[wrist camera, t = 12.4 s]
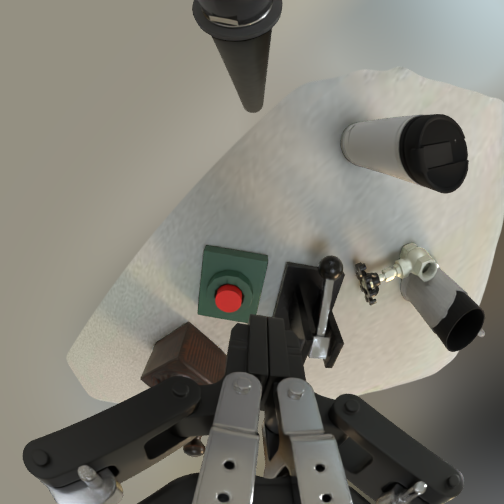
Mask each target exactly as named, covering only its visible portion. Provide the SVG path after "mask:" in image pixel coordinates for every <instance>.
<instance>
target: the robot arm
mask: <svg viewBox="0 0 504 504" xmlns="http://www.w3.org/2000/svg"><path fill="white" fill-rule="evenodd" d="M198 2H199V4H200V6H201V10H202V12H203V14H204V16H205V18H206V19H207V20H208V21H209V22H211V23H212V24H214V25H216V26H219V27H222V28H228V29H241V28H246V27H250V26H253V25H255V24H258V23H259V22H261V21H262V20H264V19H265V18H266V17H267V16H268V15H269V13H270V11H271V9H272V5H273V0H198ZM260 410H261V411H265V418H264V421H263V423H262V433H263V445H264V455H265V469H264V475H263V477H260V476H256V466H257V456H258V448H259V434H258V421H259V412H260ZM203 435H209V437H208V442H207V446H206V449H205V453H204V457H203V461H202V465H201V469H200V473H193V474H189V475H185V476H182V477H179V478H177V479H175V480H173V481H171V482H170V483H168V484H167V485H165V486H164V487H162V488H161V489H159V490H158V491H156V492H155V493H153V494H152V495H150V496H149V497H147V498H146V499H144V500H142V501H141V502H139V503H137V504H370V503H369V502H368V501H367V500H366V499H365V498H364V497H362V496H361V495H360V494H359V493H358V492H357V491H355V490H354V489H353V488H352V487H350V486H349V485H348V483H347V479H348V480H349V481H350V482H351V483H353V484H354V485H355V486H356V487H357V488H359V489H360V490H361V491H363V492H364V493H365V494H366V495H368V496H369V497H370V498H372V499H373V500H374V501H376V504H444V503H445V502H447V501H449V500H450V499H452V498H454V497H456V496H457V495H459V494H460V492H461V491H462V489H463V487H464V478H463V475H462V474H461V472H460V471H459V470H457V469H456V468H454V467H453V466H451V465H450V464H449V463H447V462H446V461H444V460H443V459H441V458H440V457H438V456H437V455H436V454H434V453H433V452H431V451H430V450H428V449H427V448H426V447H424V446H423V445H422V444H420V443H419V442H417V441H416V440H415V439H413V438H412V437H410V436H409V435H408V434H406V433H405V432H404V431H403V430H401V429H400V428H398V427H397V426H396V425H394V424H393V423H392V422H391V421H389V420H388V419H387V418H385V417H384V416H383V415H381V414H380V413H379V412H377V411H376V410H375V409H374V408H372V407H371V406H370V405H369V404H367V403H366V402H365V401H364V400H362V399H361V398H360V397H358V396H356V395H353V394H343V395H340V396H339V397H337V398H336V400H334V399H330V398H327V397H324V396H321V395H318V394H316V393H315V392H314V390H313V388H312V387H311V385H310V384H309V383H308V382H306V378H305V372H304V366H303V360H302V356H301V349H300V342H299V338H298V337H297V336H296V334H295V333H294V331H290V330H285V326H284V319H282V318H275V317H268V316H267V317H266V316H261V315H254V314H250V316H249V321H248V325H246V324H240V323H237V324H236V325H235V326H234V327H233V328H232V330H231V335H230V341H229V347H228V352H227V359H226V367H225V374H224V377H223V378H222V379H221V380H220V381H218V382H216V383H213V384H208V385H198V384H197V383H196V382H195V381H194V380H192V379H190V378H188V377H184V376H174V377H170V378H168V379H166V380H164V381H162V382H160V383H159V384H157V385H155V386H153V387H151V388H149V389H147V390H145V391H143V392H141V393H139V394H137V395H135V396H133V397H131V398H129V399H127V400H125V401H123V402H121V403H119V404H117V405H115V406H113V407H111V408H109V409H106V410H104V411H102V412H100V413H98V414H96V415H94V416H91V417H90V418H87V419H85V420H82V421H80V422H78V423H75V424H73V425H71V426H68V427H66V428H63V429H61V430H59V431H56V432H54V433H51V434H49V435H46V436H44V437H41V438H38V439H35V440H33V441H31V442H29V443H28V444H27V445H26V446H25V448H24V450H23V461H24V464H25V466H26V468H27V469H28V470H29V472H31V474H33V475H34V476H35V477H37V478H38V479H39V480H40V481H41V482H42V483H43V484H44V485H46V486H47V488H48V489H49V491H50V492H51V494H52V496H53V497H54V499H55V501H56V502H57V504H118V503H119V502H120V501H121V500H122V498H123V488H122V486H121V484H120V483H121V482H123V481H125V480H127V479H129V478H131V477H132V476H135V475H136V474H138V473H140V472H141V471H143V470H145V469H147V468H149V467H150V466H152V465H154V464H155V463H157V462H159V461H160V460H162V459H164V458H165V457H167V456H168V455H170V454H172V453H173V452H175V451H176V450H178V449H179V448H181V447H182V446H184V445H185V444H187V443H188V442H190V441H191V440H193V439H194V438H195V437H196V436H203Z"/></svg>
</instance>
